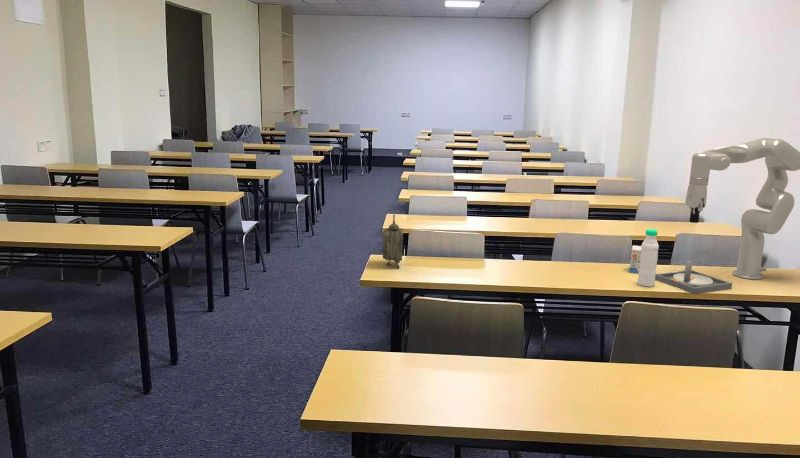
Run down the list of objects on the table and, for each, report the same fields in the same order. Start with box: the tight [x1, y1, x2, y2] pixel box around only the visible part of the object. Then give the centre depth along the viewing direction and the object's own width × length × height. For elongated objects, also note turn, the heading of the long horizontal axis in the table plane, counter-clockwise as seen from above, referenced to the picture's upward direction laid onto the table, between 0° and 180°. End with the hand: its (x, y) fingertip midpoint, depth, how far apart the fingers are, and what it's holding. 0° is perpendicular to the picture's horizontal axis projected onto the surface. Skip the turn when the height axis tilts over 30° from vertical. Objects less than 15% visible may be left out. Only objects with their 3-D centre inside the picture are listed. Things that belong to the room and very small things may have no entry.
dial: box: [673, 260, 713, 287], centre depth 269 cm, size 16×16×10 cm
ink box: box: [628, 245, 642, 274], centre depth 288 cm, size 9×8×12 cm
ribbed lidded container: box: [382, 214, 404, 269], centre depth 289 cm, size 14×9×25 cm, turn 179°
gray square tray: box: [655, 270, 733, 295], centre depth 270 cm, size 22×22×3 cm
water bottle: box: [637, 228, 660, 288], centre depth 266 cm, size 7×7×25 cm
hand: (693, 222), depth 270 cm, fingers closed
